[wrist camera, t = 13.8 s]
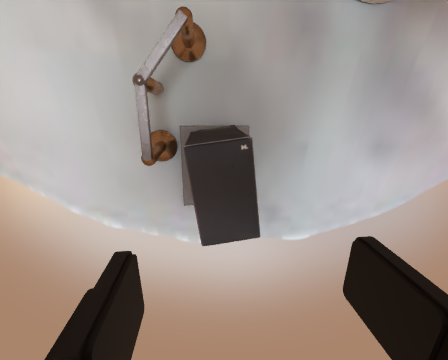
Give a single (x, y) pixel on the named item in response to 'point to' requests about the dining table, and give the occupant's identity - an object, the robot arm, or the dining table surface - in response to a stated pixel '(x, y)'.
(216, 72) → the dining table surface
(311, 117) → the dining table surface
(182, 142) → the rubber pad
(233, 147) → the small box
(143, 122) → the bent rod
